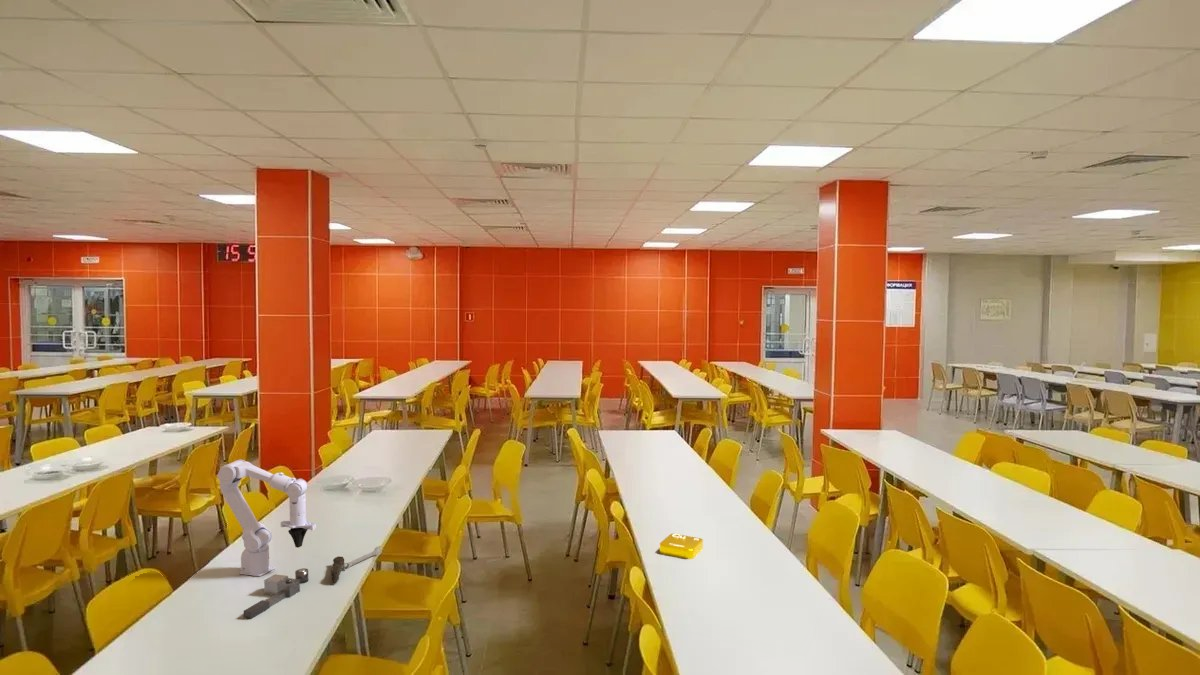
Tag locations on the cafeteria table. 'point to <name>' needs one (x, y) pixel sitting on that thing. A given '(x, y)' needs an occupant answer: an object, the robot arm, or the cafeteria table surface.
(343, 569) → the combination wrench
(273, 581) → the grey block
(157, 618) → the cafeteria table surface
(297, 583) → the ratchet
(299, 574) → the socket
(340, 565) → the rough brown wooden log
